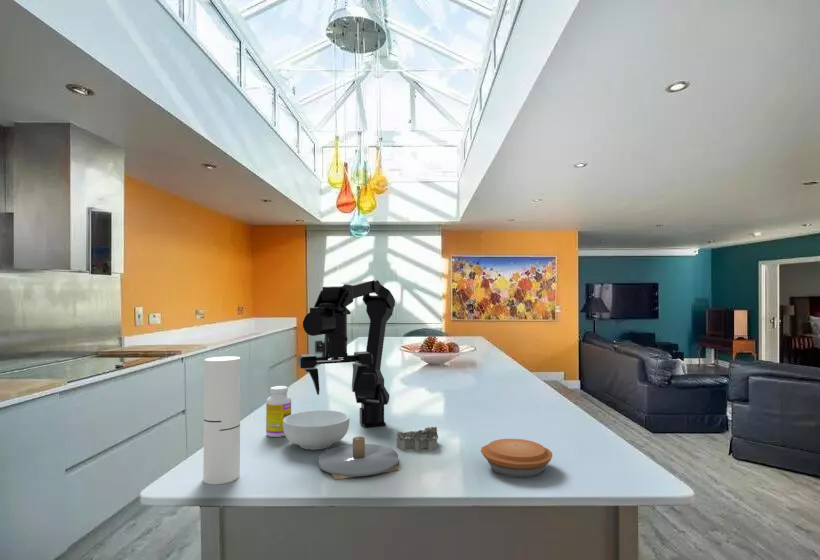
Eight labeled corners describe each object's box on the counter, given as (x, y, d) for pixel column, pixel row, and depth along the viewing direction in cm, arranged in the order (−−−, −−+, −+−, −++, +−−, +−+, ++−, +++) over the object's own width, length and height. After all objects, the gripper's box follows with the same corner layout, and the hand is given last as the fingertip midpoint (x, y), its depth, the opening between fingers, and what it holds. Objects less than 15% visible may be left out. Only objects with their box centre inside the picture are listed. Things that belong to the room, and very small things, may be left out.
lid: (384, 444, 117) (384, 424, 117) (409, 469, 100) (409, 446, 100) (312, 453, 111) (312, 432, 111) (326, 481, 94) (326, 456, 94)
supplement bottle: (284, 438, 124) (284, 390, 124) (261, 437, 125) (261, 389, 126) (295, 431, 131) (295, 385, 131) (273, 430, 132) (273, 384, 132)
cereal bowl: (362, 444, 119) (362, 416, 119) (308, 461, 107) (308, 430, 107) (323, 431, 131) (323, 405, 131) (270, 445, 119) (270, 417, 119)
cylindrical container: (210, 471, 101) (211, 356, 102) (243, 470, 102) (244, 356, 102) (198, 485, 94) (199, 361, 95) (234, 483, 94) (235, 360, 95)
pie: (566, 468, 102) (565, 445, 103) (528, 488, 92) (527, 463, 92) (507, 451, 114) (506, 430, 114) (467, 467, 103) (467, 445, 103)
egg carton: (438, 442, 121) (438, 426, 121) (437, 451, 114) (437, 435, 114) (398, 440, 123) (398, 425, 123) (394, 450, 115) (394, 433, 115)
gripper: (362, 329, 131) (362, 384, 131) (295, 331, 125) (295, 389, 124) (373, 332, 121) (373, 392, 120) (300, 334, 114) (300, 398, 114)
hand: (335, 393), depth 120 cm, fingers open, 9 cm apart
